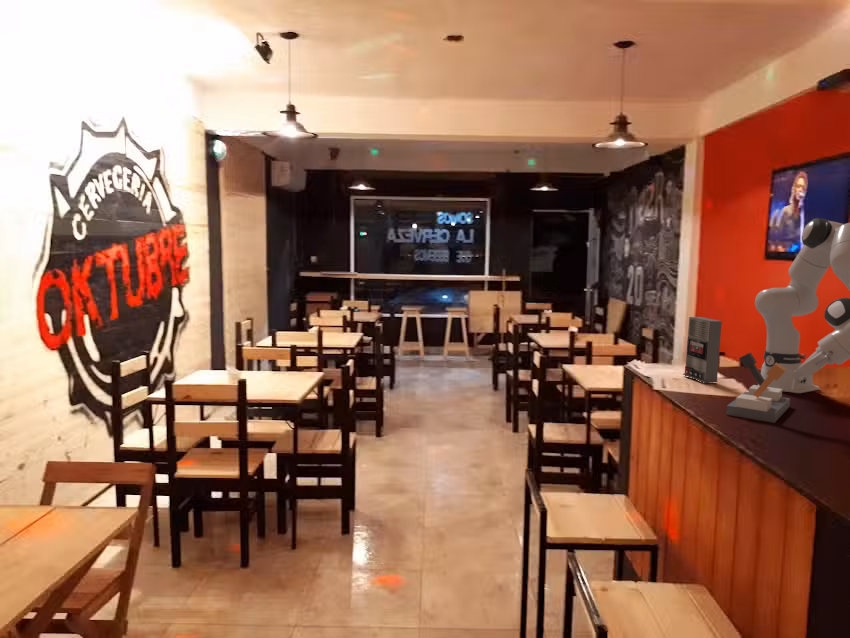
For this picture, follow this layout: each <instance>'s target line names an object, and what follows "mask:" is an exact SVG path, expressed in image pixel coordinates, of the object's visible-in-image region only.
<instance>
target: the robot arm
mask: <svg viewBox="0 0 850 638" xmlns="http://www.w3.org/2000/svg"><path fill="white" fill-rule="evenodd" d="M801 234H802V235H801V241H802V244H803V246H802V247H801V248H800V251H799V252H798V254H797V255H796V257H795V258H794V260H793V262H792V263H791V265H790V266H789V267H788V275H789V277H790V281H789V284H788V285H787V286H786V287H770V288H767V289H763V290H761V291H759V292H758V293H757V294H756V296H755V300H754V306H755V309H756V310H757V312H758V313H759V314H760V315H761V316H762V318H763V319H764V323H765V326H766V327H765V328H766V343H765V345H766V346H765V350H764V353H763V360H764V362H763V363H762V365H761V368H760V369H761V370H760V373H761V375H762V377H763V378H764V380H765V379H766V378H767V377H768V376H769V375H767V374H766V373H767V372H768V371H769V370H770V369H771V367H772V366H773V365H774V364H775V363H776V362H777V363H778V364H779V365H781V366H782V367H784V368H785V369H787V370H786V371H785V372H784V374H783V375H782V376H781V377H780V378H779V379H778V380H777V381H776V380H775V379H774V380H773V382H772V383H771V384H770V385H769V386H768V387H772V388H779V389H782V392H788V393H793V394H794V393H795V394H802V393H808V392H814V391H818V390H820V386H818V385H816V384H814V374H815V373H817V372H818V371H819V370H821V369H822V368H824V367H825V366H826V365H829V366H832V365H834V364H836V365H838V366H841V365H842V364H844V363H845V362H846V361H848V360H850V297H842V298H836V299H835V300H833V301H832V302H831V303H829V304H828V306H826V308H825V310H824V312H823V313H824V314H823V315H824V319H825V321H826V322H827V324H828V325H829V326H830V327H832V328H833V329H834V330H833V331H832V332H830V333H828V334H827V335H825V336H824V337H822V338H821V339H820V340H819V341H817V345H818V346H817V347H815V351H814V352H813V353H812V354H810V355H809V357H808V358H807V354H805V353H799V350H800V341H801V334H800V331H799V330H798V329H797V328H796V327H795V326H794V324H793V319H792V317H803V316H807V315H809V314H813V313H814V312H815V311H816V310H817V308H818V306H819V297H818V295H817V291H818V287H819V284H820V282H821V280H822V278H823V277H824V276H825V274H826V272H827V271H828V270H829V268H830V267H831V268H830V269H831V270H832V272H833V274H834V275H835V276H836V278H838V279H839V280H840V281H841V282H842V283H843V284H844V286H846V288H847V290H848V291H849V292H850V222H847V223H840V222H837V221H833V220H828V219H827V218H819V217H817V218H813V219H812V220H810V221H808V222H807V224H805V226H804V228H803V231H802V233H801ZM802 360H805V361H803V363H802ZM756 382H757V381H756ZM757 385H758V386H760V385H759V384H758V382H757Z"/></svg>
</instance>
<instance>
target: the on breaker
mask: <svg viewBox="0 0 850 638" xmlns="http://www.w3.org/2000/svg"><path fill="white" fill-rule="evenodd" d="M738 359H739V361H740V363H741V364H742V365H743V367H744V369H746V368H748V369H749V371H750V373H751V374H752V376H753V377H754V379H755V380H756V382H758V383H757V385H758V384H759V385H761V384H762V383H763V382H764V381H765V380H764V378H763V377H762V375H761V371H759V368H758V367H757V366H756V364H757V363H758V361H757V360H756V358H755V357H754V355H753V354H752V352H748V353H746V354H745V355H742V356H740V357H739V358H738Z"/></svg>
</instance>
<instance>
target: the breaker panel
mask: <svg viewBox="0 0 850 638" xmlns="http://www.w3.org/2000/svg"><path fill="white" fill-rule="evenodd" d="M759 387H760V386H758V384H757V385H756V384H753V385H751V386H750V387H749V388H748V391H745V392H743V393H741V394H739V395H738V396H737V397H736V398H735V399H734V400H733V401H731V402H730V403H728V404H727V405H726V412H725V413H726V415H727V416H733V417H739V418H743V419H750V420H756V421H762V422H767V423H773V424H775V423H776V422H777V421H778V420H779V419H780V418H781V417H782V416H783V414H785V412H786V411H787V410H788V409H790V403H791V398H788V397H782V396H783V391H782V389H779V388H772V387H767V389H766V390H765V391H764V392H763V393H762V394H761V396H760V397H759V398H757V397H756V396H754V395H753V394H754V392H755V391H756V390H757V389H758V388H759Z"/></svg>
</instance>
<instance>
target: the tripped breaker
mask: <svg viewBox="0 0 850 638" xmlns="http://www.w3.org/2000/svg"><path fill="white" fill-rule="evenodd" d="M786 370H787V369H785V368H784V367H782V366H781V365H779V364H778V363H777V362H776V363H775V364H774V365H773V366H772V367H771V369H770V370H769V371H768V372H767V373H766V374H767V375H769V376H768V377H767V378H766V379H765V381H764V382H763V383H762V384H761V385H760V387H759V388H758V389H757V390H756V391H755V392H754V394H753V395H754V396H756V397H757V398H759V397H760V396H761V394H762V393H763V392H764V391H765V390H766V389H767V387H768V386H769V385H770V384H771V383H772V382H773V380H774V379H775V380H776V381H777V380H778V379H779V378H780V377H781V376H782V375H783V374H784V372H785V371H786Z"/></svg>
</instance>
